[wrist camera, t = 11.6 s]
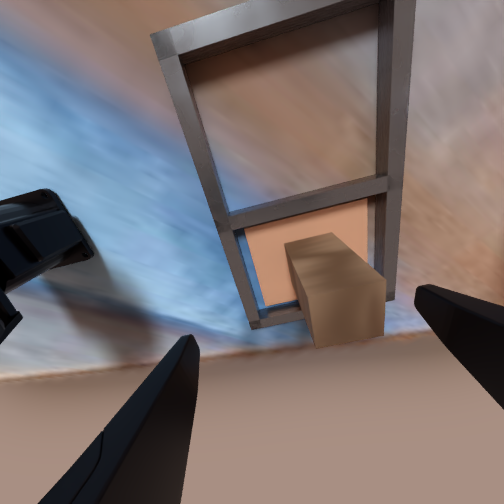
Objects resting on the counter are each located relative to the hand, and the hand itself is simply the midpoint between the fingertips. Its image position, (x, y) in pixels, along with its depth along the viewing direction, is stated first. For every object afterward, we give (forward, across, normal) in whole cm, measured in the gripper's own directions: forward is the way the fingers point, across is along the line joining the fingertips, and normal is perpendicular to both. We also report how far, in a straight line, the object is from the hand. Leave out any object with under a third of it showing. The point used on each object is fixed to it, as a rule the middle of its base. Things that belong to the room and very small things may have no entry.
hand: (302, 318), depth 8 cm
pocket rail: (+12, -3, -2) cm, 12 cm away
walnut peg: (+11, -4, +4) cm, 13 cm away
